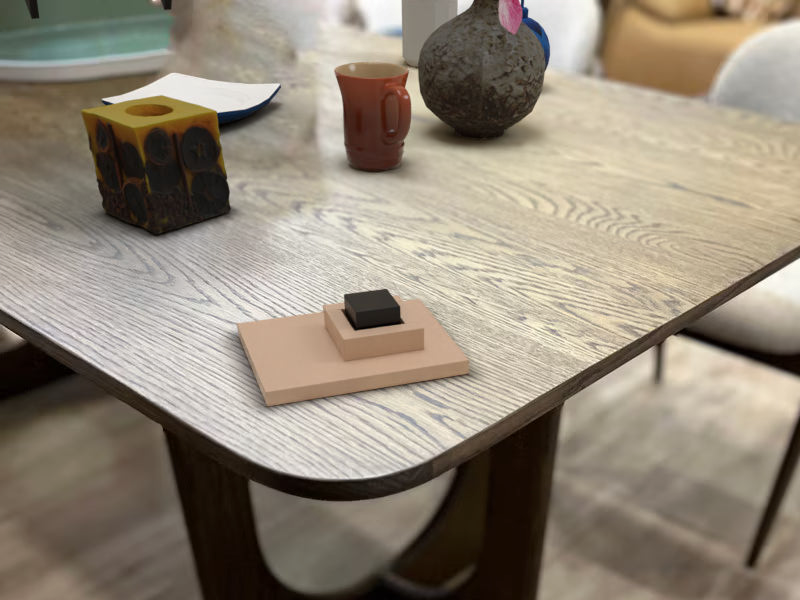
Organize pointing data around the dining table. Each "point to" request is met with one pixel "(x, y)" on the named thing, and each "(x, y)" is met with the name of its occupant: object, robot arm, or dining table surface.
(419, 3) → the jar
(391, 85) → the mug
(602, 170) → the dining table surface
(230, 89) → the plate
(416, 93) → the dining table surface
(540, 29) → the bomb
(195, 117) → the candle
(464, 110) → the vase
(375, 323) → the key
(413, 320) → the tan stepped platform
